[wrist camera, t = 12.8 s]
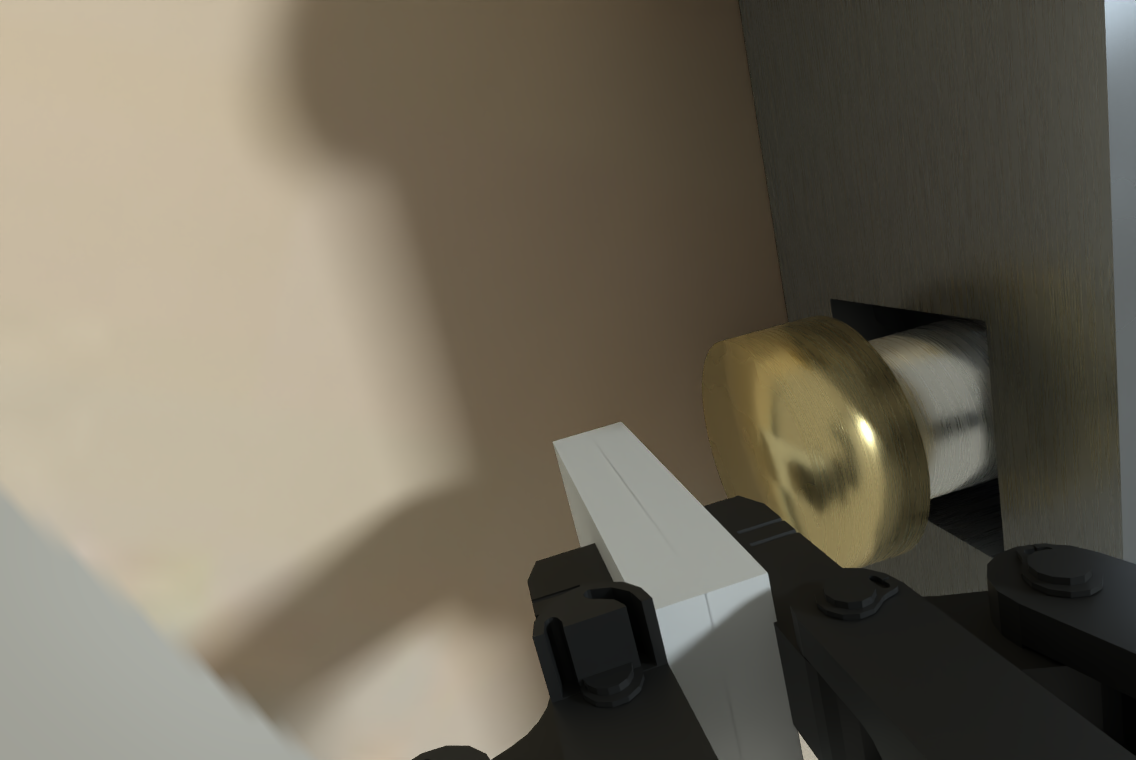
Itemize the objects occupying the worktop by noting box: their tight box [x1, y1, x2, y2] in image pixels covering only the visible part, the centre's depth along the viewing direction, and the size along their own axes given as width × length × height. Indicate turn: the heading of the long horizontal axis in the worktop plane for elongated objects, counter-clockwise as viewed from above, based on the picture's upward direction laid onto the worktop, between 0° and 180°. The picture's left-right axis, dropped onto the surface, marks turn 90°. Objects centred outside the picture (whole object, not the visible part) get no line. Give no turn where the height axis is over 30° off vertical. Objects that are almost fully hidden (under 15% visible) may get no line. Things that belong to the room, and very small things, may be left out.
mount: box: [739, 0, 1136, 596], centre depth 13 cm, size 24×10×9 cm, turn 14°
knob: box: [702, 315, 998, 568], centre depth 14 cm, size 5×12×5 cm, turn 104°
